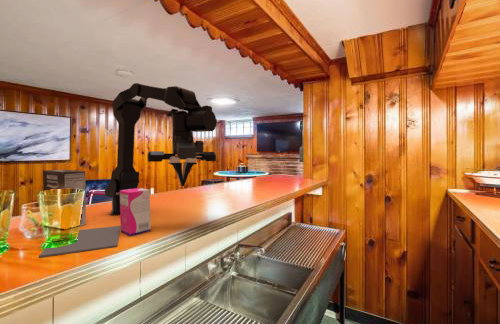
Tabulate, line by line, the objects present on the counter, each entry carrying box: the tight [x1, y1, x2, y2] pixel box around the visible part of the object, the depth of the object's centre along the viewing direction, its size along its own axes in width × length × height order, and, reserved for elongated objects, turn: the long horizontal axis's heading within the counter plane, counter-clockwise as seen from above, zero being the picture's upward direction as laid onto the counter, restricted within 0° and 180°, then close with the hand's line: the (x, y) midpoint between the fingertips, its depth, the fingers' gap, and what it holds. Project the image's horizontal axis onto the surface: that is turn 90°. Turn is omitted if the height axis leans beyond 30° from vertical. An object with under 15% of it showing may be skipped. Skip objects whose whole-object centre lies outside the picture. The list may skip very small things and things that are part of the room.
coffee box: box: [42, 169, 87, 227], centre depth 70 cm, size 9×6×16 cm
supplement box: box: [119, 187, 152, 237], centre depth 66 cm, size 6×6×12 cm
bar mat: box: [38, 225, 121, 259], centre depth 60 cm, size 16×14×1 cm
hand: (182, 186), depth 71 cm, fingers closed
